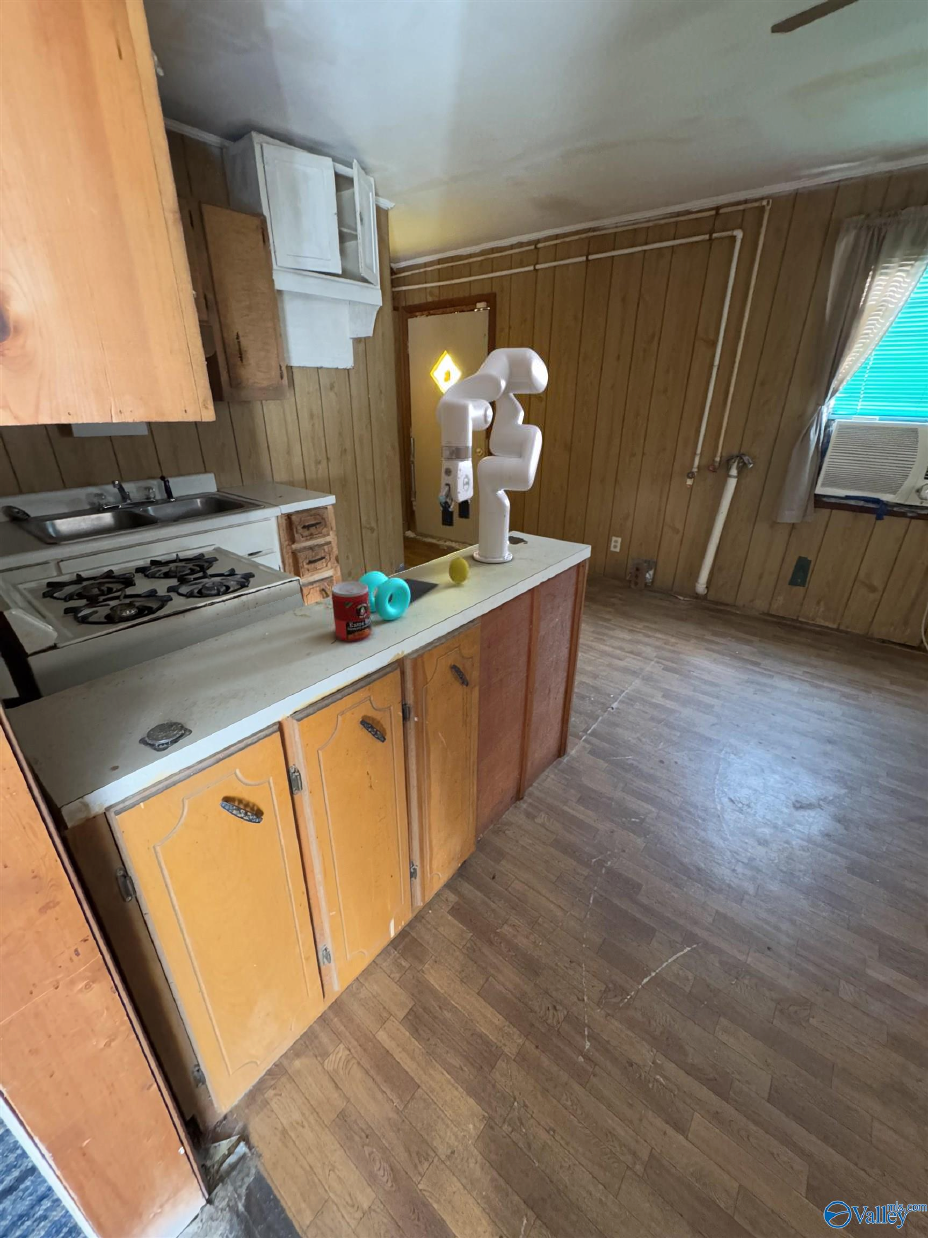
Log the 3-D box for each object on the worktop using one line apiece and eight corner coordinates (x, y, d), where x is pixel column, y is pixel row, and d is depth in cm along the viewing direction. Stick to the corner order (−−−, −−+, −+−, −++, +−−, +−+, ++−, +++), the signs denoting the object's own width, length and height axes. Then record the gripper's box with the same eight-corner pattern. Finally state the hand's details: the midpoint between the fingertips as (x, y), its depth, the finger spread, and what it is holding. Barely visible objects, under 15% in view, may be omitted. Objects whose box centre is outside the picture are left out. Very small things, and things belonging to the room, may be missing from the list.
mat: (406, 579, 143) (406, 578, 143) (437, 585, 139) (437, 583, 139) (370, 600, 128) (370, 599, 128) (404, 607, 124) (404, 606, 124)
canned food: (350, 645, 105) (345, 596, 101) (328, 634, 110) (323, 587, 106) (379, 634, 110) (375, 587, 106) (357, 623, 115) (353, 578, 111)
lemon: (469, 581, 142) (469, 554, 139) (467, 588, 137) (468, 560, 134) (450, 580, 143) (450, 553, 139) (447, 587, 138) (447, 559, 134)
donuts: (385, 603, 127) (383, 565, 123) (413, 614, 121) (412, 574, 117) (354, 615, 120) (350, 575, 116) (381, 627, 114) (379, 585, 110)
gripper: (454, 457, 116) (454, 530, 123) (484, 451, 130) (482, 517, 137) (426, 455, 119) (427, 527, 126) (457, 449, 133) (457, 514, 140)
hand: (456, 521), depth 131 cm, fingers open, 9 cm apart
